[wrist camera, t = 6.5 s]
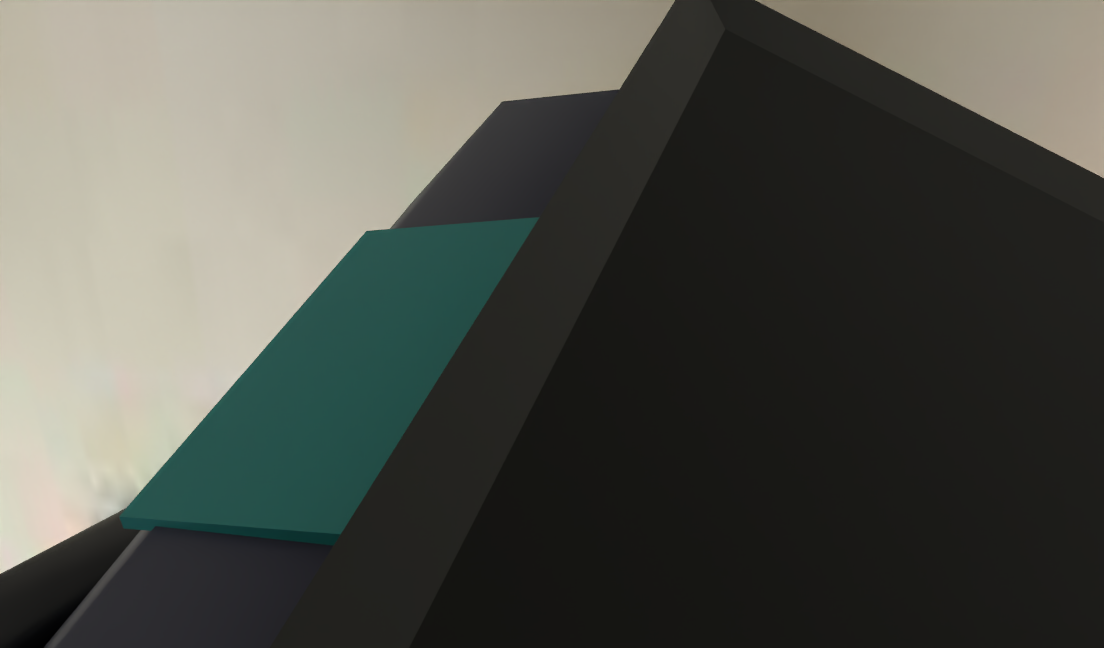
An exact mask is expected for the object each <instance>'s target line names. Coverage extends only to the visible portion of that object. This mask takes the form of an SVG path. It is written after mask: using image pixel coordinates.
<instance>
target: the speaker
mask: <svg viewBox="0 0 1104 648" xmlns="http://www.w3.org/2000/svg"><path fill="white" fill-rule="evenodd" d="M119 518H120V520H121V523H122V526H123V528H124V529H135V530H141V531H140V532H139V533H138V534H137V535H136V537H135V538H134V539H133V540H132V541H131V543H130V544H129V545H128V546H127V547H126V549H125V550H124V551H123V552H122V553H121V555H120V556H119V557H118V558H117V560H116V561H115V562H114V563H113V564H112V566H111V567H110V568H109V569H108V570H107V572H106V573H105V574H104V575H103V576H102V578H101V579H100V580H99V581H98V582H97V584H96V585H95V586H94V587H93V589H92V590H91V591H90V592H89V593H88V595H87V596H86V597H85V598H84V599H83V601H82V602H81V603H80V604H79V605H78V607H77V608H76V609H75V610H74V611H73V613H72V614H71V615H70V616H69V618H68V619H67V620H66V621H65V622H64V624H63V625H62V626H61V627H60V628H59V630H58V631H57V632H56V633H55V634H54V636H53V637H52V638H51V639H50V640H49V642H48V643H47V644H46V645H45V647H44V648H1104V178H1102V177H1100V176H1098V175H1096V174H1094V173H1092V172H1090V171H1088V170H1086V169H1085V168H1083V167H1081V166H1079V165H1077V164H1075V163H1073V162H1071V161H1069V160H1067V159H1065V158H1063V157H1061V156H1059V155H1057V154H1055V153H1053V152H1051V151H1049V150H1047V149H1045V148H1043V147H1041V146H1039V145H1037V144H1035V143H1034V142H1032V141H1030V140H1028V139H1026V138H1024V137H1022V136H1020V135H1018V134H1016V133H1014V132H1012V131H1010V130H1008V129H1006V128H1004V127H1002V126H1000V125H998V124H996V123H994V122H992V121H990V120H988V119H986V118H985V117H983V116H981V115H979V114H977V113H975V112H973V111H971V110H969V109H967V108H965V107H963V106H961V105H959V104H957V103H955V102H953V101H951V100H949V99H947V98H945V97H943V96H941V95H939V94H937V93H935V92H934V91H932V90H930V89H928V88H926V87H924V86H922V85H920V84H918V83H916V82H914V81H912V80H910V79H908V78H906V77H904V76H902V75H900V74H898V73H896V72H894V71H892V70H890V69H888V68H886V67H884V66H883V65H881V64H879V63H877V62H875V61H873V60H871V59H869V58H867V57H865V56H863V55H861V54H859V53H857V52H855V51H853V50H851V49H849V48H847V47H845V46H843V45H841V44H839V43H837V42H835V41H833V40H832V39H830V38H828V37H826V36H824V35H822V34H820V33H818V32H816V31H814V30H812V29H810V28H808V27H806V26H804V25H802V24H800V23H798V22H796V21H794V20H792V19H790V18H788V17H786V16H784V15H783V14H781V13H779V12H777V11H775V10H773V9H771V8H769V7H767V6H765V5H763V4H761V3H759V2H757V1H755V0H675V2H674V4H673V5H672V7H671V8H670V10H669V12H668V13H667V15H666V16H665V18H664V20H663V21H662V23H661V24H660V26H659V28H658V29H657V31H656V32H655V34H654V36H653V37H652V39H651V40H650V42H649V44H648V45H647V47H646V48H645V50H644V51H643V53H642V55H641V56H640V58H639V59H638V61H637V63H636V64H635V66H634V67H633V69H632V71H631V72H630V74H629V75H628V77H627V79H626V80H625V82H624V83H623V85H622V87H621V88H620V90H610V91H601V92H591V93H581V94H571V95H562V96H552V97H542V98H533V99H523V100H513V101H504V102H501V104H500V105H499V106H498V107H497V108H496V109H495V110H494V111H493V113H492V114H491V115H490V116H489V117H488V118H487V119H486V120H485V121H484V123H483V124H482V125H481V126H480V127H479V128H478V129H477V130H476V132H475V133H474V134H473V135H472V136H471V137H470V138H469V139H468V140H467V142H466V143H465V144H464V145H463V146H462V147H461V148H460V149H459V150H458V152H457V153H456V154H455V155H454V156H453V157H452V158H451V159H450V161H449V162H448V163H447V164H446V165H445V166H444V167H443V168H442V169H441V171H440V172H439V173H438V174H437V175H436V176H435V177H434V178H433V180H432V181H431V182H430V183H429V184H428V185H427V186H426V187H425V188H424V190H423V191H422V192H421V193H420V194H419V195H418V196H417V197H416V199H415V200H414V201H413V202H412V203H411V204H410V205H409V207H408V208H407V209H406V210H405V212H404V213H403V214H402V215H401V216H400V218H399V219H398V220H397V221H396V222H395V224H394V225H393V226H392V227H391V228H390V229H386V230H374V231H366V232H365V234H364V235H363V236H362V237H361V238H360V239H359V240H358V242H357V243H356V244H355V245H354V246H353V247H352V249H351V250H350V251H349V252H348V253H347V254H346V255H345V257H344V258H343V259H342V260H341V261H340V262H339V264H338V265H337V266H336V267H335V268H334V269H333V270H332V272H331V273H330V274H329V275H328V276H327V277H326V279H325V280H324V281H323V282H322V283H321V284H320V285H319V287H318V288H317V289H316V290H315V291H314V292H313V294H312V295H311V296H310V297H309V298H308V299H307V300H306V302H305V303H304V304H303V305H302V306H301V307H300V309H299V310H298V311H297V312H296V313H295V314H294V315H293V317H292V318H291V319H290V320H289V321H288V322H287V324H286V325H285V326H284V327H283V328H282V329H281V330H280V332H279V333H278V334H277V335H276V336H275V337H274V339H273V340H272V341H271V342H270V343H269V344H268V345H267V347H266V348H265V349H264V350H263V351H262V352H261V354H260V355H259V356H258V357H257V358H256V359H255V360H254V362H253V363H252V364H251V365H250V366H249V367H248V368H247V370H246V371H245V372H244V373H243V374H242V375H241V377H240V378H239V379H238V380H237V381H236V382H235V383H234V385H233V386H232V387H231V388H230V389H229V390H228V392H227V393H226V394H225V395H224V396H223V397H222V398H221V400H220V401H219V402H218V403H217V404H216V405H215V407H214V408H213V409H212V410H211V411H210V412H209V413H208V415H207V416H206V417H205V418H204V419H203V420H202V422H201V423H200V424H199V425H198V426H197V427H196V428H195V430H194V431H193V432H192V433H191V434H190V435H189V437H188V438H187V439H186V440H185V441H184V442H183V443H182V445H181V446H180V447H179V448H178V449H177V450H176V452H175V453H174V454H173V455H172V456H171V457H170V458H169V460H168V461H167V462H166V463H165V464H164V465H163V467H162V468H161V469H160V470H159V471H158V472H157V473H156V475H155V476H154V477H153V478H152V479H151V480H150V482H149V483H148V484H147V485H146V486H145V487H144V488H143V490H142V491H141V492H140V493H139V494H138V495H137V497H136V498H135V499H134V500H133V501H132V502H131V503H130V505H129V506H128V507H127V508H126V509H125V510H124V512H123V513H122V514H121V515H120V516H119Z"/></svg>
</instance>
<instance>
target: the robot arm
mask: <svg viewBox="0 0 1104 648" xmlns="http://www.w3.org/2000/svg"><path fill="white" fill-rule="evenodd" d="M124 510H125V509H124ZM124 510H122V511H120V512H118V513H116V514H114V515H112V516H110V517H108V518H106V519H105V520H103V521H101V522H99V523H97V524H95V525H93V526H91V527H89V528H87V529H85V530H84V531H82V532H80V533H78V534H76V535H74V536H72V537H70V538H68V539H66V540H64V541H63V542H61V543H59V544H57V545H55V546H53V547H51V548H49V549H47V550H45V551H43V552H41V553H40V554H38V555H36V556H34V557H32V558H30V559H28V560H26V561H24V562H22V563H20V564H19V565H17V566H15V567H13V568H11V569H9V570H7V571H5V572H3V573H1V574H0V648H44V647H45V645H46V644H47V643H48V642H49V640H50V639H51V638H52V637H53V636H54V634H55V633H56V632H57V631H58V630H59V628H60V627H61V626H62V625H63V624H64V622H65V621H66V620H67V619H68V618H69V616H70V615H71V614H72V613H73V611H74V610H75V609H76V608H77V607H78V605H79V604H80V603H81V602H82V601H83V599H84V598H85V597H86V596H87V595H88V593H89V592H90V591H91V590H92V589H93V587H94V586H95V585H96V584H97V582H98V581H99V580H100V579H101V578H102V576H103V575H104V574H105V573H106V572H107V570H108V569H109V568H110V567H111V566H112V564H113V563H114V562H115V561H116V560H117V558H118V557H119V556H120V555H121V553H122V552H123V551H124V550H125V549H126V547H127V546H128V545H129V544H130V543H131V541H132V540H133V539H134V538H135V537H136V535H137V534H138V533H139V532H140V531H141V530H135V529H124V528H123V526H122V523H121V520H120V518H119V516H120V515H121V514H122V513H123V512H124Z"/></svg>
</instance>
